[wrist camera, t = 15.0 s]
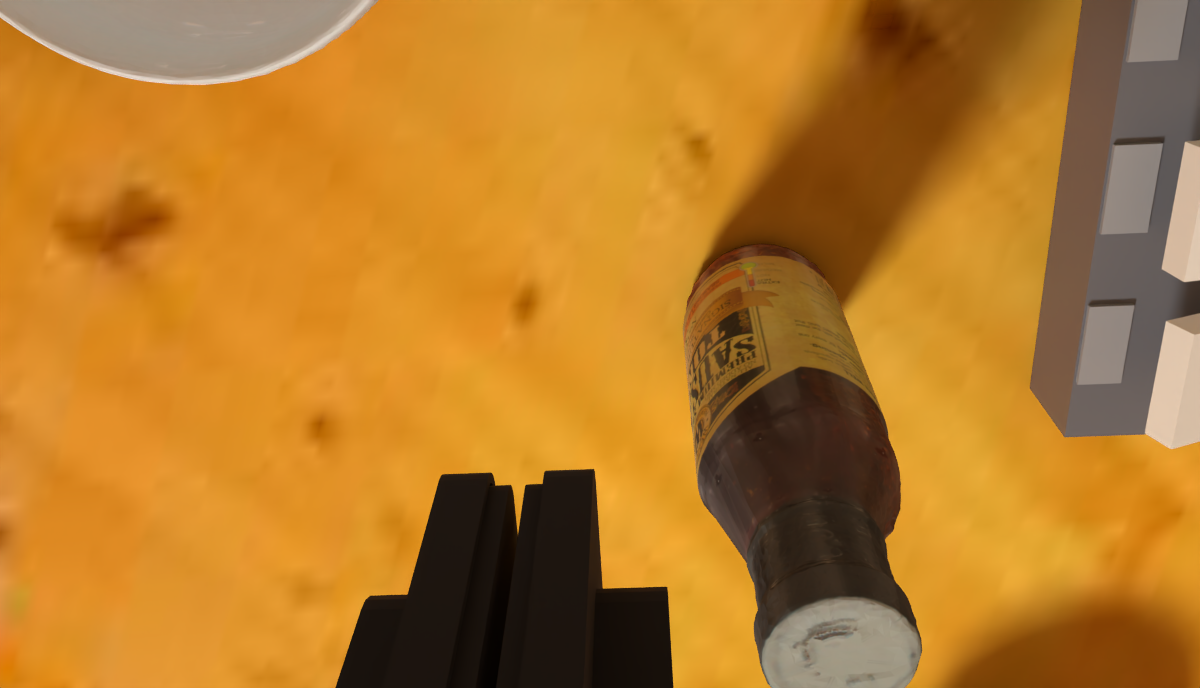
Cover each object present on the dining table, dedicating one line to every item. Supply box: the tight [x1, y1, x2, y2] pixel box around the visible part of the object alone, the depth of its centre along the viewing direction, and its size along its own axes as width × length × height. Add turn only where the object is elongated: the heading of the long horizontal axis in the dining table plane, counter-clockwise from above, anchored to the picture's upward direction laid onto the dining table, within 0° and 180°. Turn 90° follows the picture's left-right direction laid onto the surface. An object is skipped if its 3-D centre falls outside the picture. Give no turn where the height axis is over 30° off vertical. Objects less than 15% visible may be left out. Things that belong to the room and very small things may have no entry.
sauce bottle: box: [683, 244, 922, 688], centre depth 36 cm, size 7×6×20 cm
